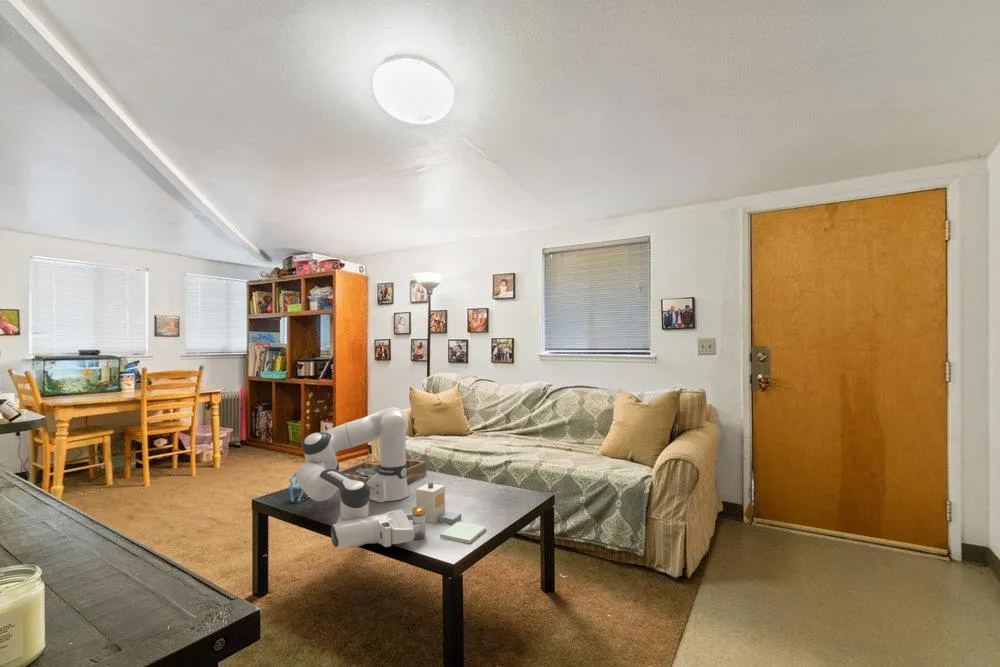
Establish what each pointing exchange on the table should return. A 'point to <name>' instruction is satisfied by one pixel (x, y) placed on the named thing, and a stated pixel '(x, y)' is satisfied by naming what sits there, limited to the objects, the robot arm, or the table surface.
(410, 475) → the bracket holder
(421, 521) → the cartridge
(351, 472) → the brown wooden tray
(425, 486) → the box
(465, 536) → the pad
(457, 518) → the cover plate
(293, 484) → the chair
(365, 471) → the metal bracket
